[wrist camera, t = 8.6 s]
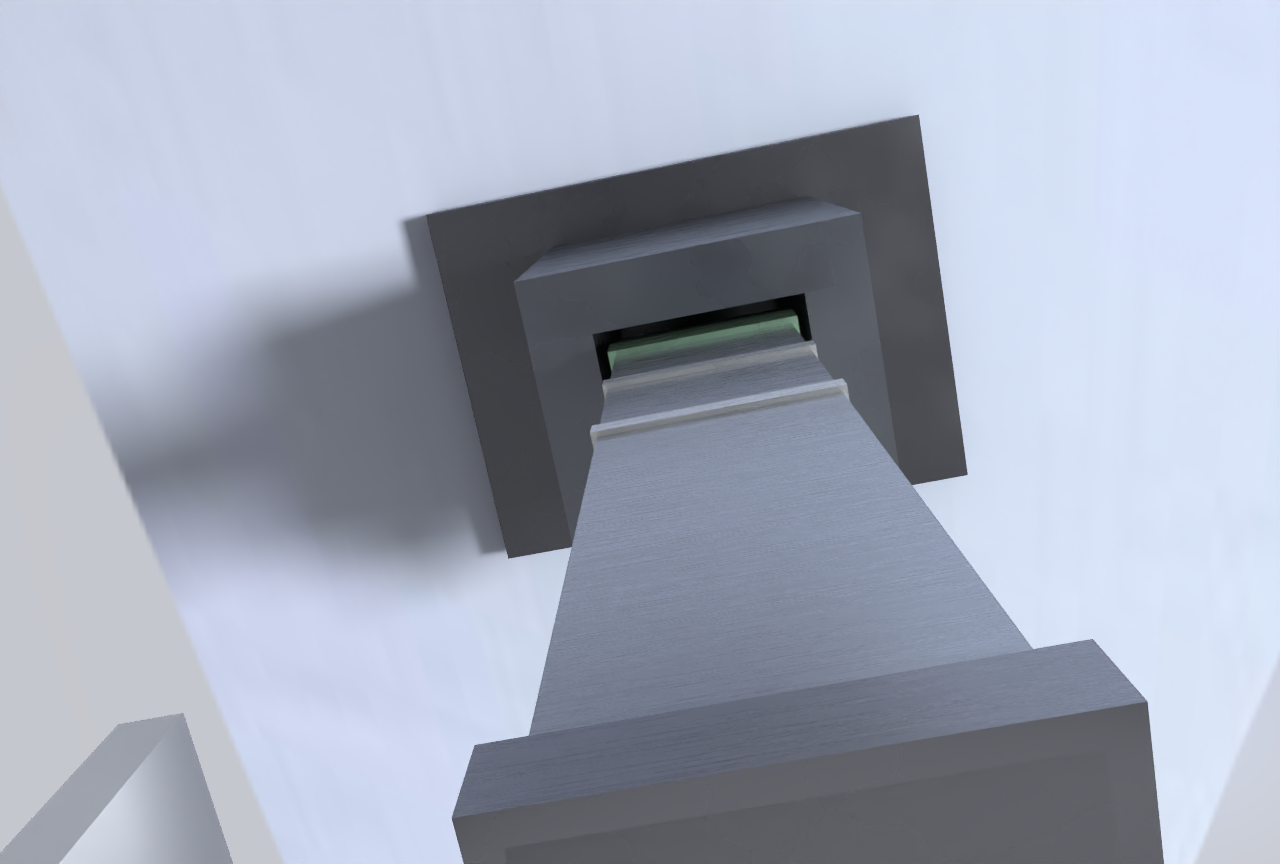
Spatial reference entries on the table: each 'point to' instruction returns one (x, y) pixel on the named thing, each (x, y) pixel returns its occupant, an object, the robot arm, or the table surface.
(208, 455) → the table surface
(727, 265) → the stand
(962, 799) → the column
